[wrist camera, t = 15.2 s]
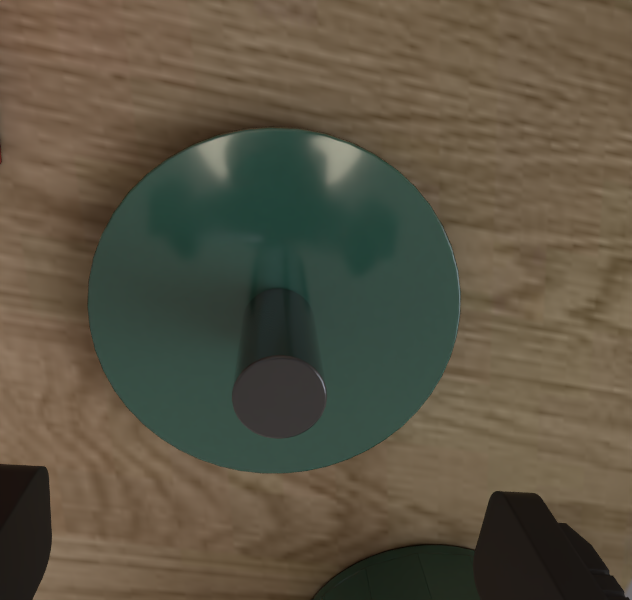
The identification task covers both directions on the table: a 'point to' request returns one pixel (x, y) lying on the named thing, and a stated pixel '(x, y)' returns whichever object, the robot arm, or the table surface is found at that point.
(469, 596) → the tin
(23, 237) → the table surface
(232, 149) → the lid
